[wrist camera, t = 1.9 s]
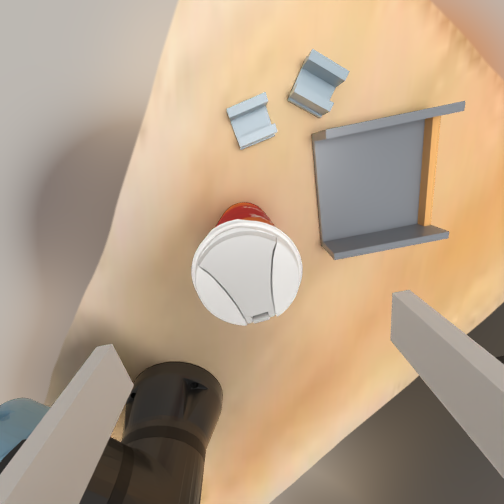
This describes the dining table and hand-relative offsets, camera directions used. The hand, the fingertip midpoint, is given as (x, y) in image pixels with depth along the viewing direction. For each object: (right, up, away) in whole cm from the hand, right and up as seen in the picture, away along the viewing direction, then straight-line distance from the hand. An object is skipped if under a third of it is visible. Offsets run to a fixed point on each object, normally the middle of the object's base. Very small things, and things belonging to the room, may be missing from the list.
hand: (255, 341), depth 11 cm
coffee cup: (-1, +8, +19) cm, 21 cm away
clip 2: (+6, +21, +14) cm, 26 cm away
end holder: (+14, +12, +18) cm, 26 cm away
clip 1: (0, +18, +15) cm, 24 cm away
